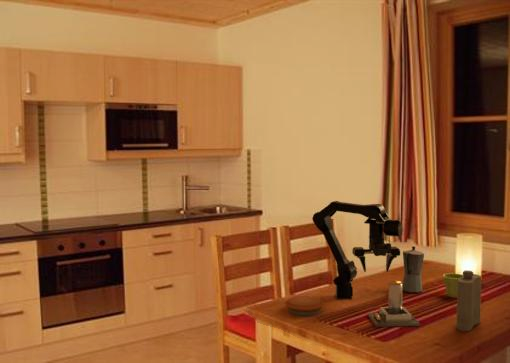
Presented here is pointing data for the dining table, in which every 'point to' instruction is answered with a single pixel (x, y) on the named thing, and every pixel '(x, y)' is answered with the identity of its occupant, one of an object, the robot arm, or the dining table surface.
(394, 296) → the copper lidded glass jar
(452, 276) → the plant pot
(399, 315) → the dock
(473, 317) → the flask
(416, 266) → the moka pot
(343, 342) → the dining table surface
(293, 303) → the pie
